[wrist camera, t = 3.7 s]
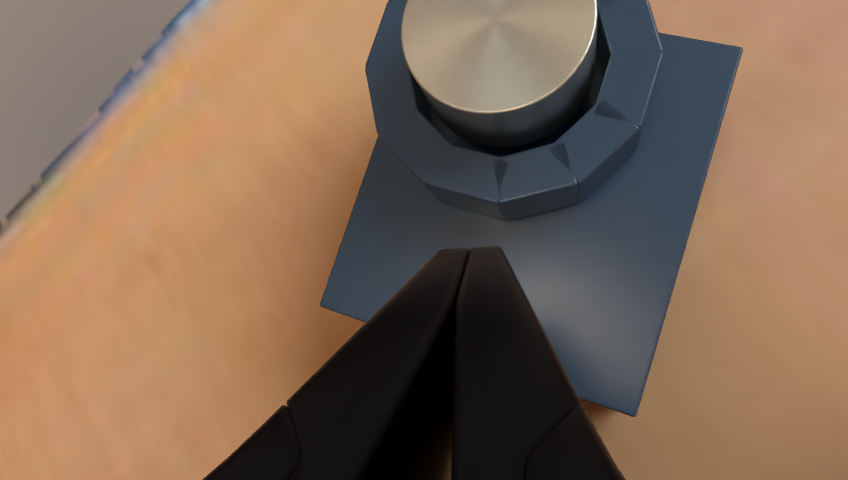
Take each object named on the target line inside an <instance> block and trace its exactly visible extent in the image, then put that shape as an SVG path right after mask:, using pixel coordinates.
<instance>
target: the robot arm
mask: <svg viewBox="0 0 848 480" xmlns="http://www.w3.org/2000/svg"><path fill="white" fill-rule="evenodd" d="M203 480H626V479H625V478H624V476H623V475H622V473H621V472H620V470H619V469H618V467H617V466H616V464H615V462H614V460H613V459H612V457H611V455H610V453H609V452H608V450H607V448H606V446H605V445H604V443H603V441H602V439H601V438H600V436H599V434H598V432H597V431H596V429H595V427H594V425H593V423H592V421H591V419H590V417H589V415H588V413H587V411H586V409H585V408H584V407H583V406H582V403H581V401H580V399H579V397H578V395H577V393H576V391H575V389H574V387H573V385H572V383H571V381H570V379H569V377H568V375H567V374H566V372H565V370H564V368H563V366H562V364H561V362H560V360H559V358H558V356H557V354H556V352H555V350H554V348H553V346H552V345H551V343H550V341H549V339H548V337H547V335H546V333H545V331H544V329H543V327H542V325H541V323H540V321H539V319H538V317H537V316H536V314H535V312H534V310H533V308H532V306H531V304H530V302H529V300H528V298H527V296H526V294H525V292H524V290H523V288H522V287H521V285H520V283H519V281H518V279H517V277H516V275H515V273H514V271H513V269H512V267H511V265H510V263H509V261H508V259H507V258H506V256H505V254H504V252H503V250H502V249H501V247H499V246H487V247H475V248H472V249H471V251H469V249H467V248H454V249H442V250H440V251H438V252H437V253H436V254H435V255H434V256H433V257H432V258H431V259H430V260H429V261H428V262H427V263H426V264H425V265H424V266H423V267H422V268H421V269H420V270H419V271H418V272H417V273H416V274H415V275H414V276H413V277H412V278H411V279H410V280H409V281H408V282H407V283H406V284H405V285H404V286H403V287H402V288H401V289H400V290H399V291H398V292H397V293H396V294H394V295H393V296H392V297H391V298H390V299H389V300H388V301H387V302H386V303H385V304H384V305H383V306H382V307H381V308H380V309H379V310H378V311H377V312H376V313H375V314H374V315H373V316H372V317H371V318H370V319H369V320H368V321H367V322H366V323H365V324H364V325H363V326H362V327H361V328H360V329H359V330H358V331H357V332H356V333H355V334H354V335H353V336H352V337H351V338H350V339H349V340H348V341H347V342H346V343H345V344H344V345H343V346H342V347H341V348H340V349H339V350H338V351H337V352H336V353H335V354H334V355H333V356H332V357H331V358H330V359H329V360H328V361H327V362H326V363H325V364H324V365H323V366H322V367H321V368H320V369H319V370H318V371H317V372H316V373H315V374H314V375H313V376H312V377H311V378H310V379H309V380H308V381H307V382H306V383H305V384H304V385H303V386H302V387H301V388H300V389H299V390H298V391H297V392H296V393H295V394H294V395H293V396H292V397H290V398H289V399H288V401H287V406H285V405H283V406H281V407H280V408H279V409H278V410H277V411H276V412H275V413H274V414H273V415H272V416H271V417H270V418H269V419H268V420H267V421H266V422H265V423H264V424H263V425H262V426H261V427H260V428H259V429H258V430H257V431H256V432H255V433H253V434H252V435H251V436H250V437H249V438H248V439H247V440H246V441H245V442H244V443H243V444H242V445H241V446H240V447H239V448H238V449H237V450H235V451H234V452H233V453H232V454H231V455H230V456H229V457H228V458H227V459H226V460H225V461H223V462H222V463H221V464H220V465H219V466H218V467H216V468H215V469H214V470H213V471H212V472H211V473H210V474H208V475H207V476H206V477H205V478H204V479H203Z"/></svg>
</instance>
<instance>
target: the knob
mask: <svg viewBox="0 0 848 480" xmlns="http://www.w3.org/2000/svg"><path fill="white" fill-rule="evenodd" d="M597 17H598V12H597V0H407V3H406V6H405V9H404V13H403V17H402V24H401V42H402V50H403V54H404V57H405V61H406V63H407V65H408V68H409V70H410V72H411V73H412V75H413V77H414V78H415V80H416V82H417V83H418V85H419V87H420V88H421V90H422V92H423V93H424V95H425V96H426V98H427V100H428V101H429V103H430V105H431V106H432V108H433V110H434V111H435V113H436V114H437V116H438V117H439V118H440V120H441V121H442V122H443V123H444V124H445V125H446V126H447V127H448V128H449V129H450V130H452V131H453V132H454V133H456V134H457V135H459V136H460V137H462V138H464V139H467V140H469V141H471V142H474V143H477V144H480V145H485V146H491V147H513V146H519V145H524V144H528V143H531V142H534V141H537V140H539V139H541V138H543V137H545V136H548V135H549V134H551V133H552V132H554V131H556V130H557V129H559V128H560V127H561V126H562V125H563V124H565V123H566V122H567V121H568V120H569V119H570V118H571V117H572V116H573V115H574V114H575V113H576V111H577V110H578V109H579V107H580V106H581V104H582V103H583V101H584V99H585V98H586V96H587V94H588V92H589V89H590V86H591V84H592V80H593V76H594V72H595V61H596V39H597Z"/></svg>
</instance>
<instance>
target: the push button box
mask: <svg viewBox="0 0 848 480" xmlns="http://www.w3.org/2000/svg"><path fill="white" fill-rule="evenodd" d="M406 3H407V0H389V2H388V3H387V6H386V8H385V11H384V14H383V17H382V20H381V23H380V25H379V28H378V31H377V34H376V37H375V40H374V43H373V45H372V48H371V51H370V54H369V57H368V60H367V62H366V69H365V70H366V75H367V81H368V86H369V92H370V97H371V102H372V108H373V113H374V119H375V124H376V130H377V132H378V138H377V141H376V144H375V147H374V150H373V152H372V155H371V158H370V161H369V164H368V167H367V170H366V173H365V176H364V179H363V181H362V184H361V187H360V190H359V193H358V196H357V199H356V202H355V205H354V207H353V210H352V213H351V216H350V219H349V222H348V225H347V228H346V231H345V233H344V236H343V239H342V242H341V245H340V248H339V251H338V254H337V257H336V260H335V262H334V265H333V268H332V271H331V274H330V277H329V280H328V283H327V286H326V288H325V291H324V294H323V297H322V300H321V303H320V306H321V307H323V308H326V309H329V310H332V311H335V312H337V313H340V314H343V315H346V316H349V317H352V318H354V319H357V320H360V321H363V322H367V321H368V320H369V319H370V318H371V317H372V316H373V315H374V314H375V313H376V312H377V311H378V310H379V309H380V308H381V307H382V306H383V305H384V304H385V303H386V302H387V301H388V300H389V299H390V298H391V297H392V296H393V295H394V294H396V293H397V292H398V291H399V290H400V289H401V288H402V287H403V286H404V285H405V284H406V283H407V282H408V281H409V280H410V279H411V278H412V277H413V276H414V275H415V274H416V273H417V272H418V271H419V270H420V269H421V268H422V267H423V266H424V265H425V264H426V263H427V262H428V261H429V260H430V259H431V258H432V257H433V256H434V255H435V254H436V253H437V252H438V251H440V250H442V249H454V248H467V249H469V251H471V249H472V248H475V247H487V246H499V247H501V249H502V250H503V252H504V254H505V256H506V258H507V259H508V261H509V263H510V265H511V267H512V269H513V271H514V273H515V275H516V277H517V279H518V281H519V283H520V285H521V287H522V288H523V290H524V292H525V294H526V296H527V298H528V300H529V302H530V304H531V306H532V308H533V310H534V312H535V314H536V316H537V317H538V319H539V321H540V323H541V325H542V327H543V329H544V331H545V333H546V335H547V337H548V339H549V341H550V343H551V345H552V346H553V348H554V350H555V352H556V354H557V356H558V358H559V360H560V362H561V364H562V366H563V368H564V370H565V372H566V374H567V375H568V377H569V379H570V381H571V383H572V385H573V387H574V389H575V391H576V393H577V395H578V397H579V398H581V399H584V400H586V401H589V402H592V403H595V404H598V405H601V406H603V407H606V408H609V409H612V410H615V411H618V412H620V413H623V414H626V415H629V416H632V417H635V416H636V415H637V412H638V408H639V405H640V401H641V398H642V394H643V391H644V388H645V384H646V381H647V377H648V374H649V370H650V367H651V364H652V360H653V357H654V353H655V350H656V346H657V343H658V340H659V336H660V333H661V329H662V326H663V322H664V319H665V316H666V312H667V309H668V305H669V302H670V298H671V295H672V291H673V288H674V285H675V281H676V278H677V274H678V271H679V267H680V264H681V261H682V257H683V254H684V250H685V247H686V243H687V240H688V237H689V233H690V230H691V226H692V223H693V219H694V216H695V213H696V209H697V206H698V202H699V199H700V195H701V192H702V188H703V185H704V182H705V178H706V175H707V171H708V168H709V164H710V161H711V158H712V154H713V151H714V147H715V144H716V140H717V137H718V134H719V130H720V127H721V123H722V120H723V116H724V113H725V110H726V106H727V103H728V99H729V96H730V92H731V89H732V85H733V82H734V79H735V75H736V72H737V68H738V65H739V61H740V58H741V55H742V51H743V49H742V48H741V47H736V46H730V45H724V44H719V43H713V42H708V41H702V40H697V39H691V38H685V37H680V36H674V35H669V34H663V33H658V30H657V27H656V24H655V20H654V17H653V14H652V11H651V7H650V4H649V1H648V0H597V12H598V17H597V39H596V61H595V72H594V76H593V80H592V84H591V86H590V89H589V92H588V94H587V96H586V98H585V99H584V101H583V103H582V104H581V106H580V107H579V109H578V110H577V111H576V113H575V114H574V115H573V116H572V117H571V118H570V119H569V120H568V121H567V122H566V123H565V124H563V125H562V126H561V127H560V128H559V129H557V130H556V131H554V132H552V133H551V134H549V135H548V136H545V137H543V138H541V139H539V140H537V141H534V142H531V143H528V144H524V145H519V146H513V147H491V146H485V145H480V144H477V143H474V142H471V141H469V140H467V139H464V138H462V137H460V136H459V135H457V134H456V133H454V132H453V131H452V130H450V129H449V128H448V127H447V126H446V125H445V124H444V123H443V122H442V121H441V120H440V118H439V117H438V116H437V114H436V113H435V111H434V110H433V108H432V106H431V105H430V103H429V101H428V100H427V98H426V96H425V95H424V93H423V92H422V90H421V88H420V87H419V85H418V83H417V82H416V80H415V78H414V77H413V75H412V73H411V72H410V70H409V68H408V65H407V63H406V61H405V57H404V54H403V50H402V42H401V24H402V17H403V13H404V9H405V6H406Z"/></svg>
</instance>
